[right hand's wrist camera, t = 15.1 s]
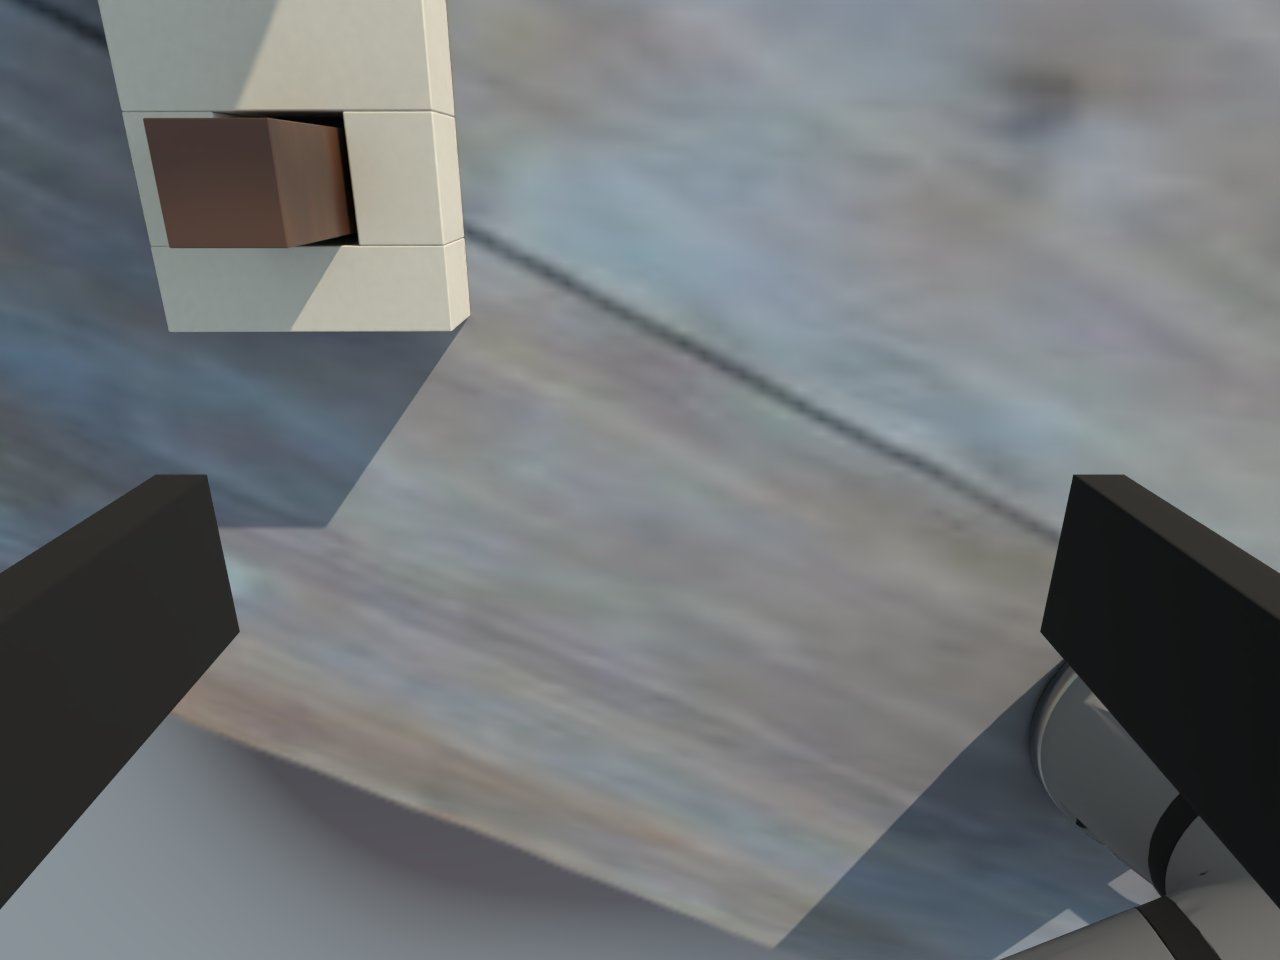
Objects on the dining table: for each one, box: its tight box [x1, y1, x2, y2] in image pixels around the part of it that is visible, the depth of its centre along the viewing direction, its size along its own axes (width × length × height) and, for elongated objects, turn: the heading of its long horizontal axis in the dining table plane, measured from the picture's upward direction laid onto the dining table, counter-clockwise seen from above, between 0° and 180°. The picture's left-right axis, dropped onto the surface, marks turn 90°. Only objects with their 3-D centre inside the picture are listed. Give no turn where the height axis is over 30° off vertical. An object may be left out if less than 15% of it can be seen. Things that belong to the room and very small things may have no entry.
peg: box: [143, 118, 357, 248], centre depth 31 cm, size 4×4×10 cm
